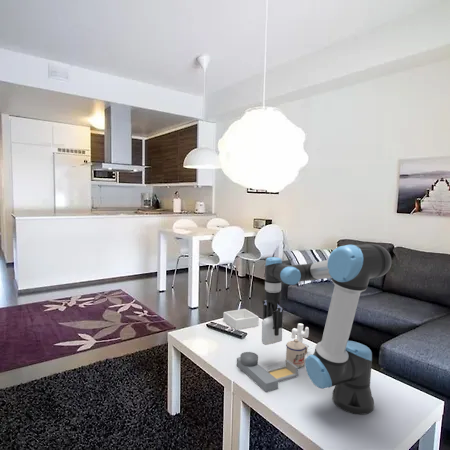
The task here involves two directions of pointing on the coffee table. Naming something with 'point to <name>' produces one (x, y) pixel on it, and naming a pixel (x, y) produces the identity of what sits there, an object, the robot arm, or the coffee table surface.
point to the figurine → (300, 333)
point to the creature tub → (240, 319)
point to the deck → (260, 375)
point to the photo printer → (269, 331)
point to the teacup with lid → (296, 352)
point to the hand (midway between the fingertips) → (271, 339)
